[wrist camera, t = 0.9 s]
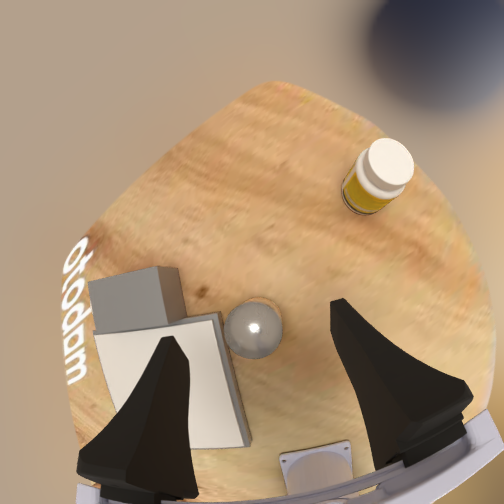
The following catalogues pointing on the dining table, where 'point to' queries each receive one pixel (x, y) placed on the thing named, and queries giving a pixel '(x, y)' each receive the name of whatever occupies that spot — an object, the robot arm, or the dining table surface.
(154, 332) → the scale
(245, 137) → the dining table surface
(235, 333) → the cylinder
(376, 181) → the supplement bottle
